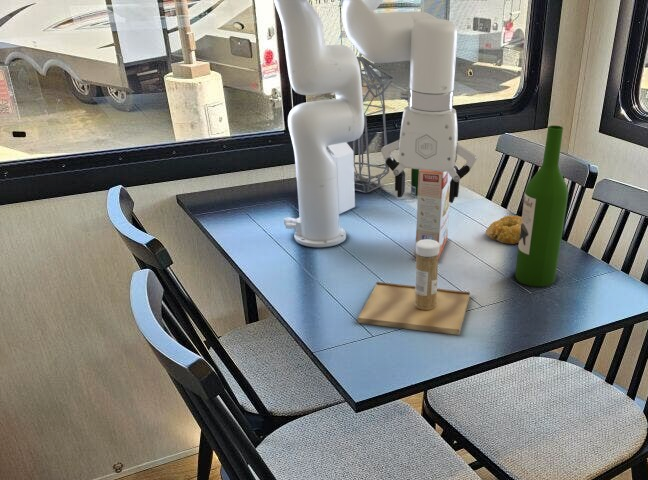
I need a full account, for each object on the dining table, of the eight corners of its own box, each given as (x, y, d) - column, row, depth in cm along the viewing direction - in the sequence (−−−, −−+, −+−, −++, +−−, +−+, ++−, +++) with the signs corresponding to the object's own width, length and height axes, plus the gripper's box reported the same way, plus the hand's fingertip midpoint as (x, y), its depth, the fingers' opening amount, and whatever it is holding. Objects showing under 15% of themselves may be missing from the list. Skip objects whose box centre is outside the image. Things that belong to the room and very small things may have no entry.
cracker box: (439, 262, 158) (444, 172, 146) (414, 259, 159) (416, 169, 147) (449, 239, 170) (454, 154, 158) (425, 237, 170) (428, 152, 159)
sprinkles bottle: (440, 308, 137) (444, 245, 130) (420, 312, 135) (422, 249, 128) (430, 298, 140) (432, 236, 133) (410, 302, 139) (411, 240, 131)
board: (357, 322, 134) (357, 316, 133) (377, 287, 147) (377, 281, 146) (459, 335, 131) (459, 328, 130) (469, 297, 144) (470, 291, 143)
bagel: (484, 229, 176) (485, 211, 173) (526, 231, 176) (529, 213, 173) (486, 244, 168) (487, 226, 165) (531, 246, 168) (533, 227, 165)
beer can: (419, 200, 193) (421, 157, 186) (406, 195, 196) (407, 152, 189) (433, 196, 196) (435, 153, 189) (420, 191, 199) (421, 149, 192)
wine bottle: (507, 273, 154) (524, 123, 136) (541, 267, 158) (562, 120, 139) (527, 289, 148) (548, 134, 129) (562, 283, 151) (587, 131, 132)
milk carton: (355, 207, 187) (353, 135, 176) (339, 214, 182) (336, 141, 171) (334, 202, 190) (331, 131, 179) (318, 209, 185) (314, 137, 174)
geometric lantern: (367, 199, 192) (365, 64, 172) (323, 188, 199) (317, 56, 179) (399, 185, 203) (400, 56, 183) (356, 175, 210) (353, 49, 190)
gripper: (376, 101, 115) (376, 199, 125) (478, 110, 113) (469, 209, 123) (387, 91, 121) (385, 186, 131) (483, 100, 119) (474, 195, 129)
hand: (426, 197), depth 127 cm, fingers open, 9 cm apart
